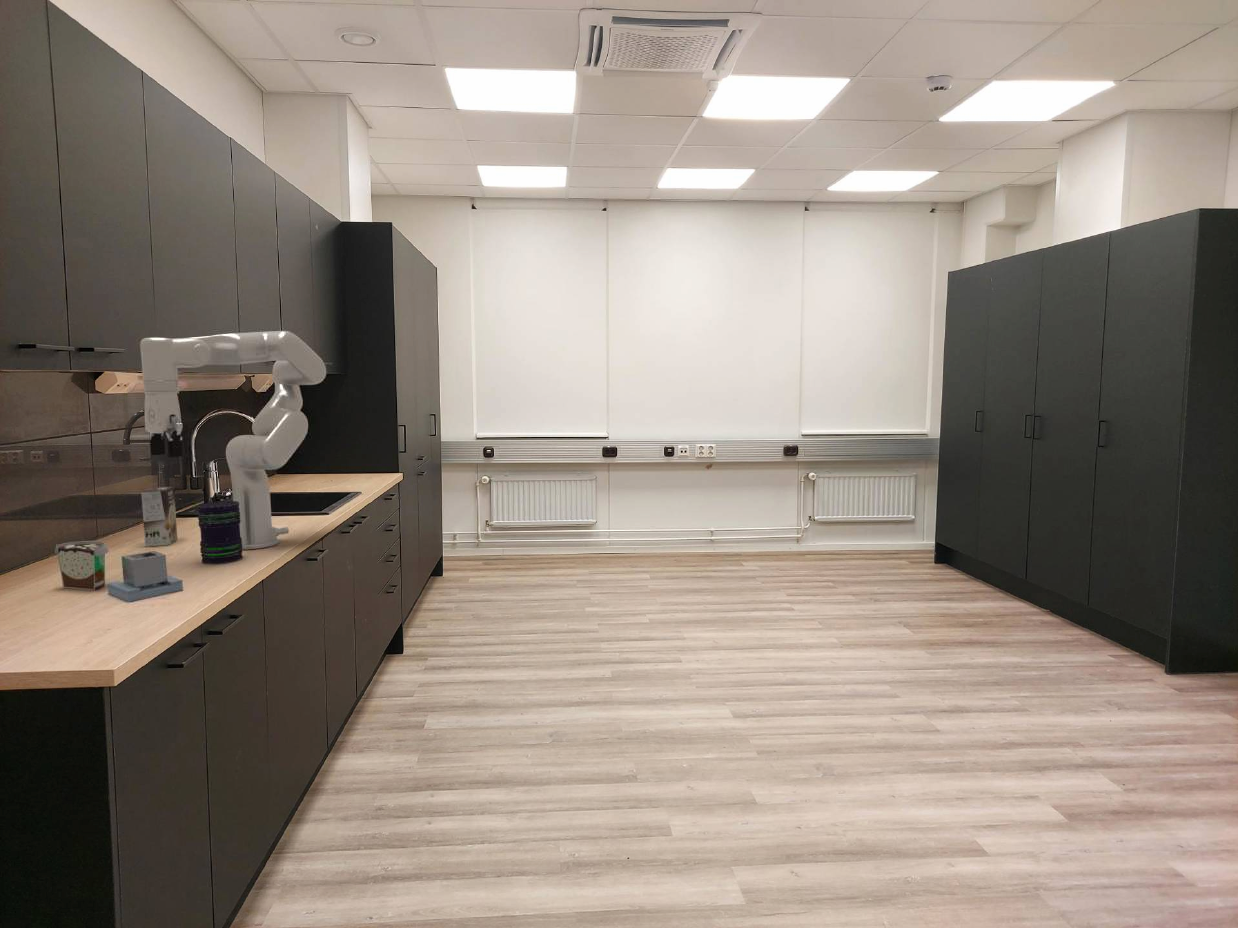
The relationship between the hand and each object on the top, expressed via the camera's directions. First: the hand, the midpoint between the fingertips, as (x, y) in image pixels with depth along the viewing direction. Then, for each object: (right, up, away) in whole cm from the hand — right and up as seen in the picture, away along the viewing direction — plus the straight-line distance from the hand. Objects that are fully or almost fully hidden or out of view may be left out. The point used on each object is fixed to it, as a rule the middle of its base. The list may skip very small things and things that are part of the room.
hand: (166, 455), depth 190 cm
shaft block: (+8, -31, -21) cm, 38 cm away
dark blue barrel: (+9, -28, +9) cm, 30 cm away
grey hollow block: (+8, -29, -21) cm, 36 cm away
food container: (-8, -31, -15) cm, 35 cm away
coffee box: (-20, -25, +30) cm, 44 cm away
